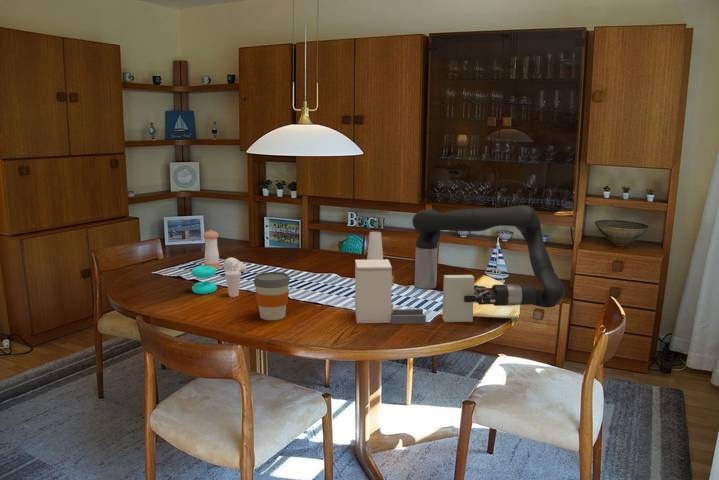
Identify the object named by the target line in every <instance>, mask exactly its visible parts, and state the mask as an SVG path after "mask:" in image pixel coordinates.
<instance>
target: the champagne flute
mask: <svg viewBox="0 0 719 480" xmlns="http://www.w3.org/2000/svg"><path fill="white" fill-rule="evenodd" d="M368 237H369V238H368V247H367V256H366V260H384V250H383V242H382V241H383V240H382V239H383V238H382V232H381V231H369V236H368Z"/></svg>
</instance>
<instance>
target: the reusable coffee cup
mask: <svg viewBox="0 0 719 480" xmlns="http://www.w3.org/2000/svg"><path fill="white" fill-rule="evenodd" d="M253 285H254V286H255V293H254V295H255V299H256V304H257V305H258V311H259V316H260V319H262V320H265V321H277V320H279V321H280V320H282V319H284V318H285V317H286V309H287V304H288V303H289V296H290V295H289V294H290V290H289V286H290V277H289V274H288V273H285V272H283V271H282V272H279V271H268V272H267V271H266V272H260V273H258V274H255V276H254V281H253Z"/></svg>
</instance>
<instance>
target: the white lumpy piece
mask: <svg viewBox="0 0 719 480" xmlns="http://www.w3.org/2000/svg"><path fill="white" fill-rule="evenodd" d="M231 262H232V263H233V271H240V272H244V273H245V272H247V271H246V270H247V265H246V264H245V263H243V262H241V261H240V260H239V259H237V258H235V257H227V258H226V259H225V260H224V262H223V264H222V267H223V270H224V273H225V272H228V271H231Z"/></svg>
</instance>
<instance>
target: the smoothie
mask: <svg viewBox="0 0 719 480" xmlns="http://www.w3.org/2000/svg"><path fill="white" fill-rule="evenodd" d="M224 276H225V280H226V285H227V291H228V297H229V296H230V297H229V298H235V297H236V296H237V297H238V296H239V294H240V292H239V291H240V285H241V283H240V282H241V280H240V279H241V276H242V273H241V272H240V271H233V263H232V262H231V271H228V272H225V271H224Z"/></svg>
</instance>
